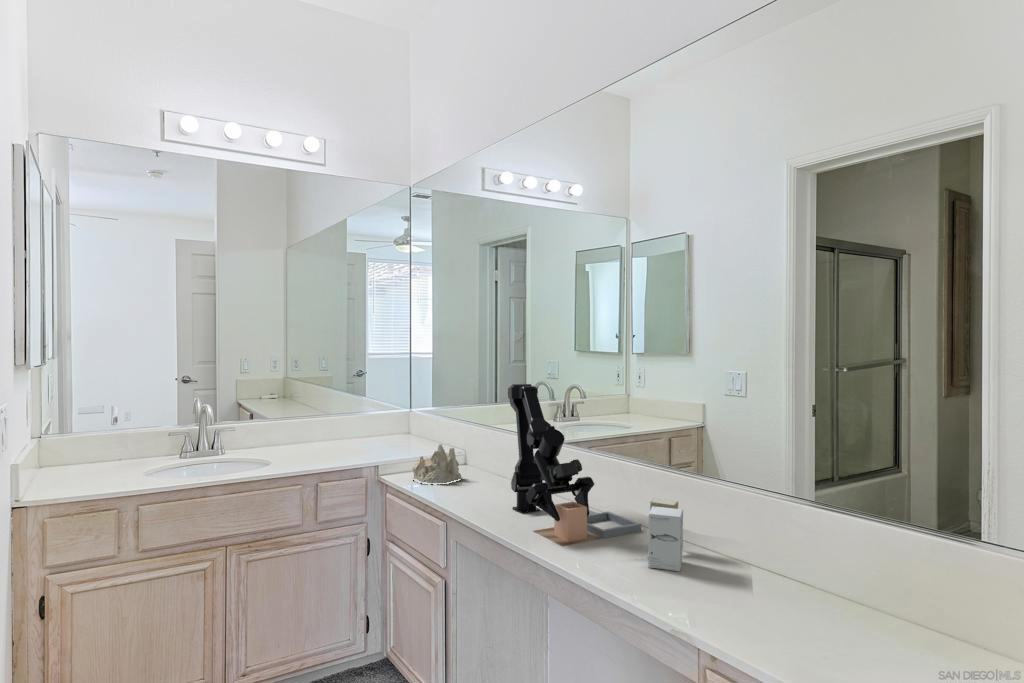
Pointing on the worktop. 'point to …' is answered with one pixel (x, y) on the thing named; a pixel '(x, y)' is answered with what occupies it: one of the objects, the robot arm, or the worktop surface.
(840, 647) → the worktop surface
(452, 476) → the miniature mountain rock
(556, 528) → the terracotta collar
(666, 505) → the skincare box
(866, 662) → the worktop surface
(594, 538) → the walnut base
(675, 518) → the supplement box
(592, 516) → the charcoal tray
